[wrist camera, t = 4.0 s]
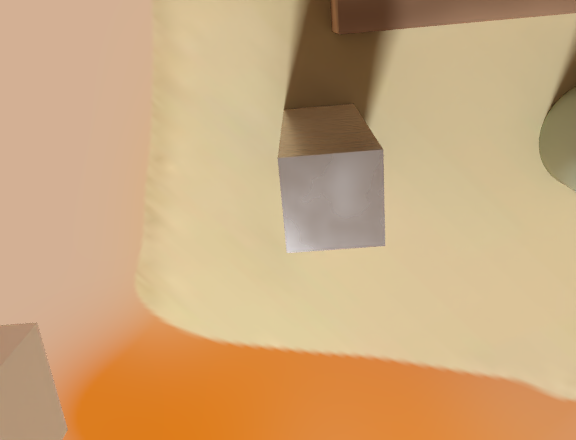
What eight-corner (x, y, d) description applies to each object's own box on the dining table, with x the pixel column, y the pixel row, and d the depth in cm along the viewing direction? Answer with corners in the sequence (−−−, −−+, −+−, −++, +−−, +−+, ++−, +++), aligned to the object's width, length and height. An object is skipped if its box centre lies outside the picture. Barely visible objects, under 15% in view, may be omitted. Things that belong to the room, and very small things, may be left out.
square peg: (283, 109, 30) (277, 158, 20) (353, 103, 30) (383, 149, 20) (289, 175, 32) (286, 252, 21) (355, 170, 31) (385, 245, 21)
